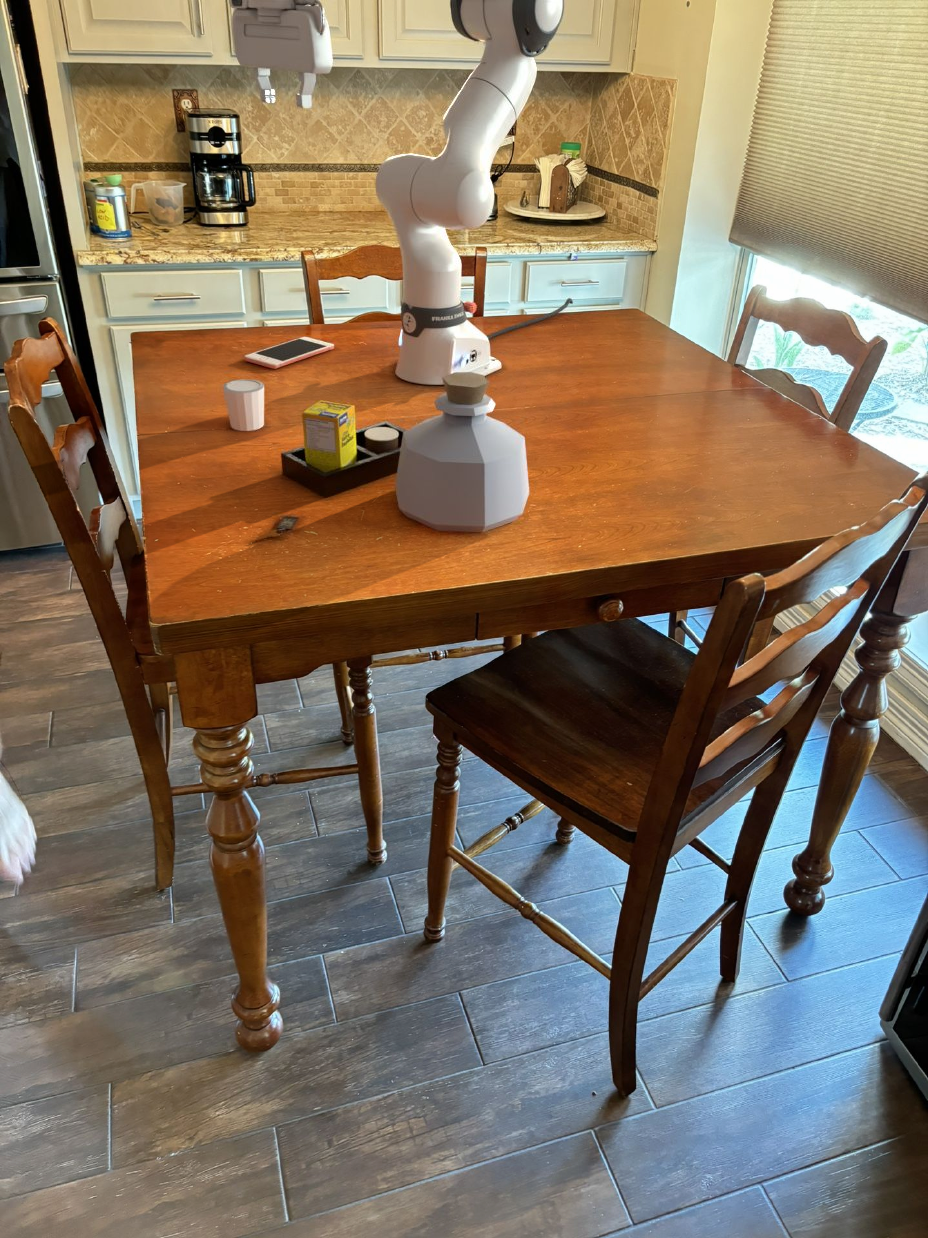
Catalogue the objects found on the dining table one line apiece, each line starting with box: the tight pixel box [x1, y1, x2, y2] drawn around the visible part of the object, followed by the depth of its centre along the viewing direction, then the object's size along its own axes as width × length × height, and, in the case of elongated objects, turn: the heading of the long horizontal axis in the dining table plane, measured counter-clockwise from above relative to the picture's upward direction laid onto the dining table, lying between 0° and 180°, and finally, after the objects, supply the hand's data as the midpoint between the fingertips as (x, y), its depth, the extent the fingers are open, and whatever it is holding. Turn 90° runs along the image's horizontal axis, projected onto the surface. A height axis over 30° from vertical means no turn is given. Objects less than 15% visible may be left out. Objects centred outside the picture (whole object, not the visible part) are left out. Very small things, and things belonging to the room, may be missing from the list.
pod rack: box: [280, 420, 407, 499], centre depth 143 cm, size 21×11×4 cm, turn 134°
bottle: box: [394, 372, 530, 533], centre depth 129 cm, size 20×20×19 cm
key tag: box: [255, 515, 299, 542], centre depth 125 cm, size 8×3×1 cm, turn 159°
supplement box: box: [301, 399, 357, 472], centre depth 138 cm, size 6×6×11 cm
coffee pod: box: [365, 427, 399, 455], centre depth 146 cm, size 5×5×4 cm
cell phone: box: [244, 336, 335, 370], centre depth 189 cm, size 9×18×1 cm, turn 145°
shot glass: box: [222, 378, 265, 432], centre depth 155 cm, size 7×7×7 cm
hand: (285, 105), depth 138 cm, fingers open, 8 cm apart
